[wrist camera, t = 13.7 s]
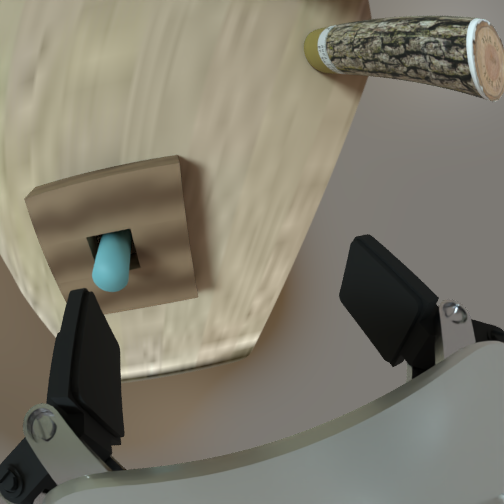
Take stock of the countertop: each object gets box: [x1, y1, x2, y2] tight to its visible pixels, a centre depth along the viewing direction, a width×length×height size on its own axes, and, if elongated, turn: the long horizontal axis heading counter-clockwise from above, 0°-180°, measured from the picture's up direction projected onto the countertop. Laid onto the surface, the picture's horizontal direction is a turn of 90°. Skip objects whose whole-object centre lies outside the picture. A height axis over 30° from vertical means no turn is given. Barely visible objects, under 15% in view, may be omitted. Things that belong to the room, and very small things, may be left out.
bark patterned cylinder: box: [304, 16, 504, 101], centre depth 20 cm, size 7×7×25 cm
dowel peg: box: [92, 229, 132, 292], centre depth 33 cm, size 4×4×9 cm
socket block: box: [25, 155, 198, 314], centre depth 35 cm, size 20×20×4 cm
